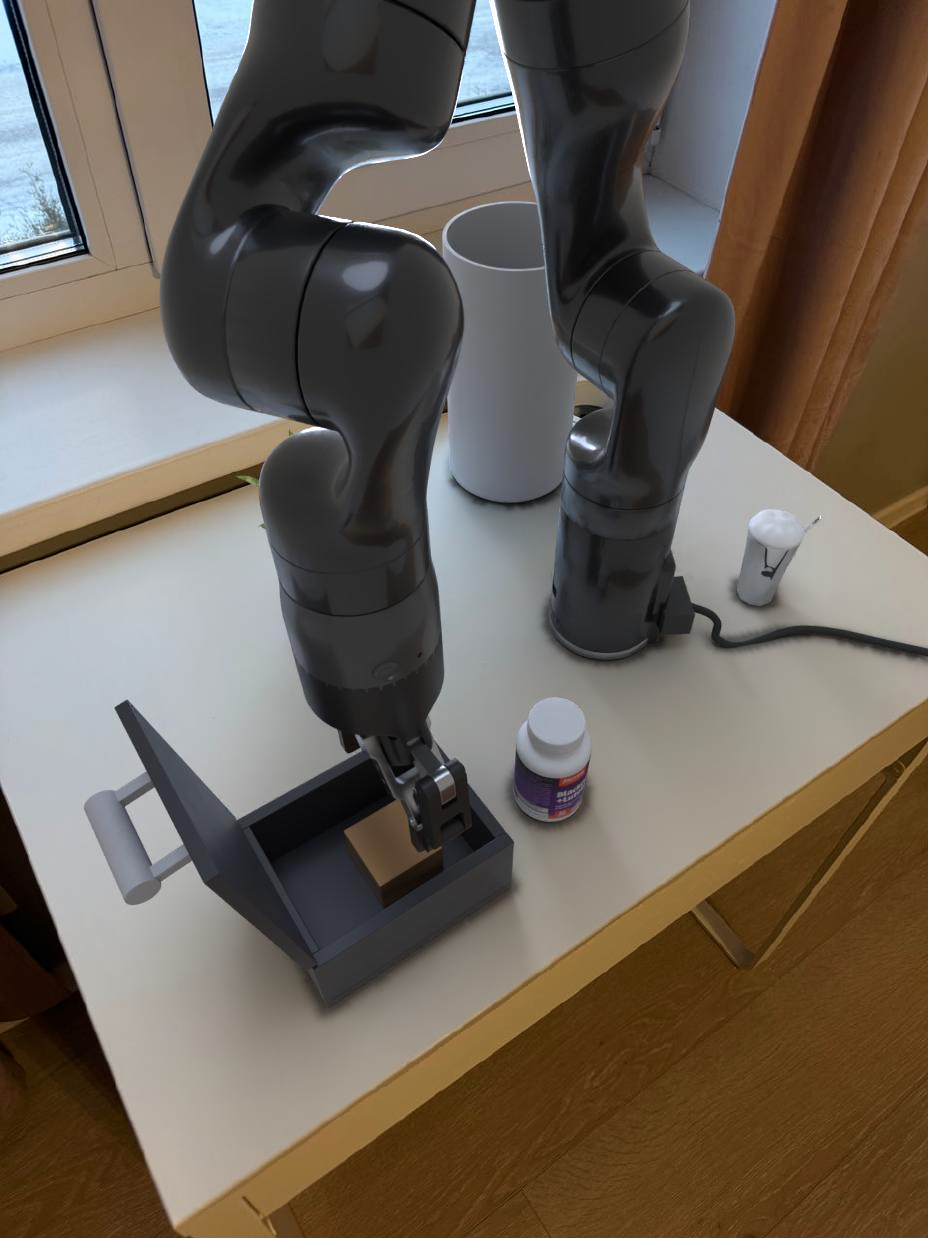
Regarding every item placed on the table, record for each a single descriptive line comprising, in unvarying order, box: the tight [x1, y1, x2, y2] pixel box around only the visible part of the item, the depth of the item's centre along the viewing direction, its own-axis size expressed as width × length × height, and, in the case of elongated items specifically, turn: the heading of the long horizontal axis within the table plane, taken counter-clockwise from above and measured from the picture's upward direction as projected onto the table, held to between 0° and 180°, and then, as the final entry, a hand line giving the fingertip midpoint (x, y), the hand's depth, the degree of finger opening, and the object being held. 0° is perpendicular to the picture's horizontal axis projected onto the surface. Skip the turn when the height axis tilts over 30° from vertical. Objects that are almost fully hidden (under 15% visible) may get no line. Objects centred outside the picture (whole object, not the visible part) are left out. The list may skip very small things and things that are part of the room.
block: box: [344, 800, 444, 908], centre depth 63 cm, size 5×5×4 cm
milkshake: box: [736, 508, 822, 607], centre depth 78 cm, size 4×5×10 cm
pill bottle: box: [513, 696, 593, 823], centre depth 65 cm, size 5×5×10 cm
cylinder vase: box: [441, 200, 579, 504], centre depth 85 cm, size 12×12×25 cm
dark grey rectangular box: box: [237, 740, 515, 1009], centre depth 62 cm, size 15×12×7 cm
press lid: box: [83, 699, 317, 972], centre depth 49 cm, size 16×12×5 cm
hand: (392, 790), depth 56 cm, fingers open, 8 cm apart
